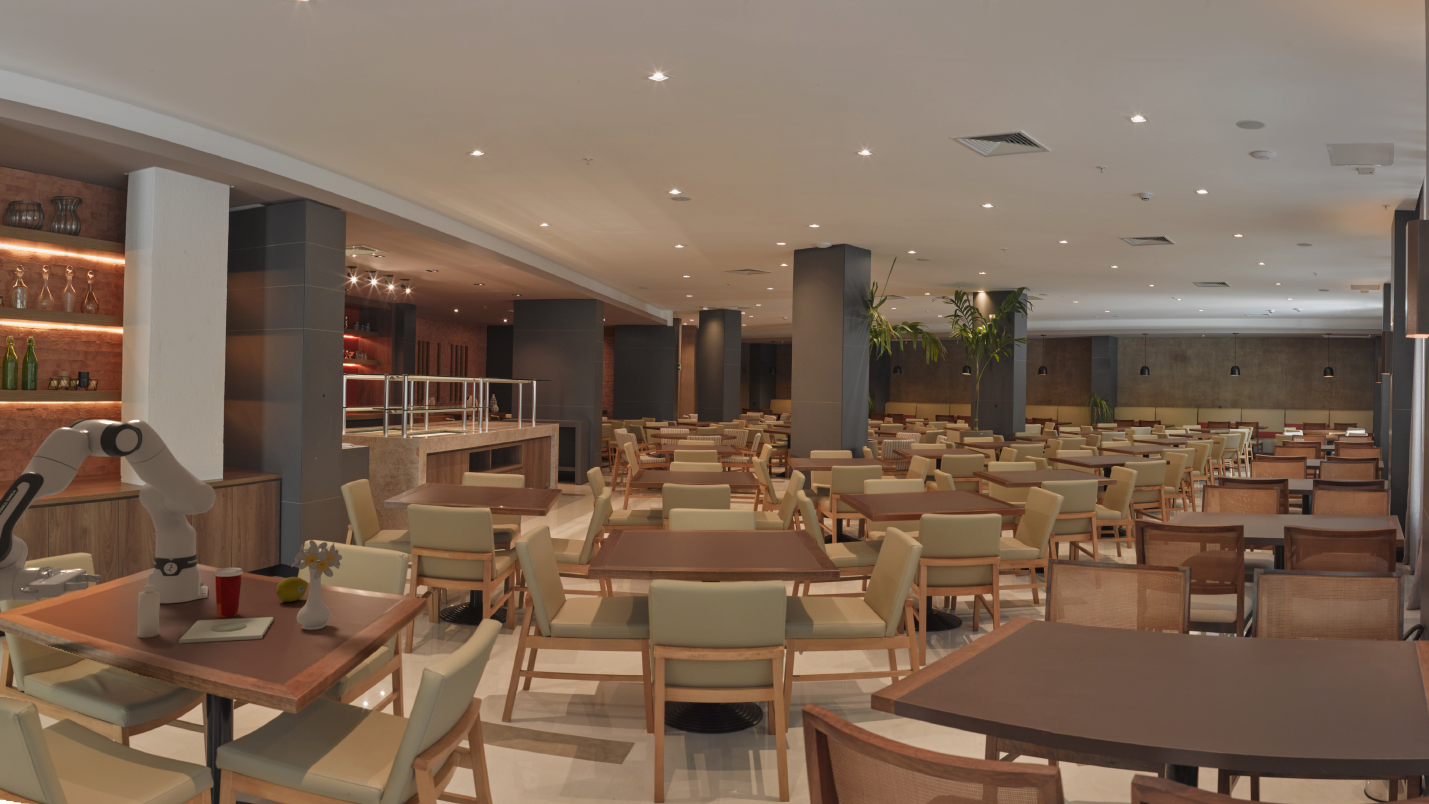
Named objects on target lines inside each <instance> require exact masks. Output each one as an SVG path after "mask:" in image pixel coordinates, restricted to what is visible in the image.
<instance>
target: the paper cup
mask: <svg viewBox="0 0 1429 804" xmlns="http://www.w3.org/2000/svg"><path fill="white" fill-rule="evenodd" d="M243 574H244V572H243V570H242V568H240V567H223V568H218V569H216V571H215V573H214V577H215V604H216V605H215V606H216V617H217V616H218V617H217V618H223V617H224V618H232V616H233V617H236V616H238V615H237V614H239V606H240V598H241V587H242V575H243Z"/></svg>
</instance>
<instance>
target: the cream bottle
mask: <svg viewBox="0 0 1429 804" xmlns="http://www.w3.org/2000/svg"><path fill="white" fill-rule="evenodd" d="M143 588H144V589H143V590H142V591H139V592H138V602H137V626H136V627H137V629H136V630H137V633H136V635H137V638H141V639H143V638H145V639H147V638H154V637H157V636H159V633H160V605H161V603H160V591H157V590H154V589H155V585H154V584H148V585H147V584H144V587H143Z"/></svg>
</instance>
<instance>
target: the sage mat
mask: <svg viewBox="0 0 1429 804" xmlns="http://www.w3.org/2000/svg"><path fill="white" fill-rule="evenodd" d="M273 621H274V617H273V616H267V617H266V616H265V617H245V618H243V617H242V618H241V617H240V618H224V619H220V618H219V619H201V620H200V619H199V620H197V621H196V622H194V624H193V625H192V626H191V627H190V628H189V629H188V630H187V631H186V632H185V633H184V634H183V635H182V636H181V637H180V638H179V644H186V643H187V644H189V643H205V642H225V641H238V640H239V641H243V640H261V639H262V638H263V637H264V636H263V635H265V634H266V632H267V631H268V629H269V628H270V627H271V625H270V624H272V623H273ZM268 627H269V628H268Z"/></svg>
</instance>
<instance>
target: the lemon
mask: <svg viewBox="0 0 1429 804" xmlns="http://www.w3.org/2000/svg"><path fill="white" fill-rule="evenodd" d="M308 585H309V583H308V581H307V580H305V579H303V578H301V577H298V576H290V577H286V578H283V579H282V580H280V582H279V583H278V584H277V586H276V592H275V593H276V597H277V598H278V599H279V600H281V601H282V602H284V603H293V601H294V602H296V601H298V600H300V599H301V598H302V597H303V596H304V595H305V594H306V591H307V589H308V587H309V586H308Z"/></svg>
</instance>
